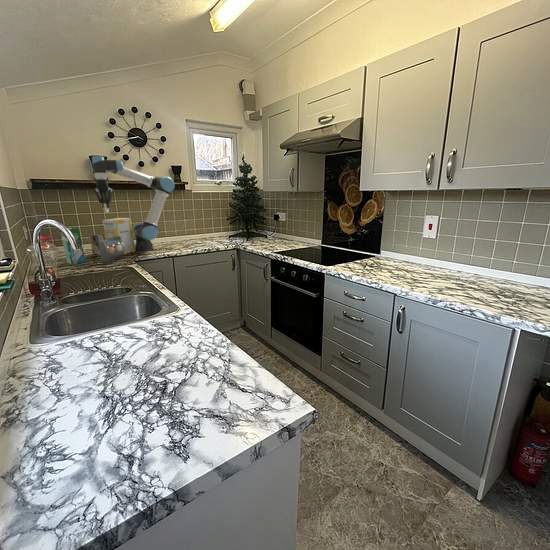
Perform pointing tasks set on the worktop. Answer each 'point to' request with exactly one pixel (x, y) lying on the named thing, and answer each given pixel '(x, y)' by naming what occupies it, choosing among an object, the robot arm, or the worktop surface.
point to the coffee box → (96, 243)
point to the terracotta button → (111, 250)
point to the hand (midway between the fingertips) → (107, 212)
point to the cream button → (118, 248)
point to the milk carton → (70, 253)
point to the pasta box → (120, 232)
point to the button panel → (104, 246)
